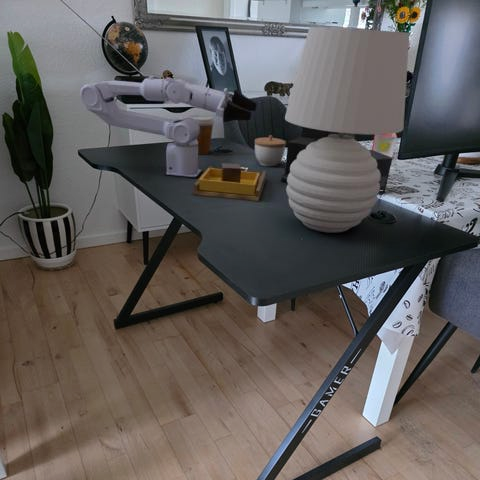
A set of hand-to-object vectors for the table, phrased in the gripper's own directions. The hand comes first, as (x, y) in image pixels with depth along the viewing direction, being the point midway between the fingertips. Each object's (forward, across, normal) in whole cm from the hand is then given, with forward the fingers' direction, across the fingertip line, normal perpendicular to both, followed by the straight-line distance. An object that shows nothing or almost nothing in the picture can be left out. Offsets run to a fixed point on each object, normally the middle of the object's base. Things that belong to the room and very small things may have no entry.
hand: (253, 111), depth 128 cm
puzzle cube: (+47, +53, +23) cm, 75 cm away
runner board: (0, -12, +18) cm, 22 cm away
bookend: (+22, +8, +18) cm, 29 cm away
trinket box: (+6, +19, +23) cm, 30 cm away
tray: (-1, -13, +16) cm, 21 cm away
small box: (+39, +2, +14) cm, 41 cm away
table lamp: (+27, -34, +9) cm, 44 cm away
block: (-1, -16, +15) cm, 22 cm away
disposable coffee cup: (-20, +25, +29) cm, 43 cm away
